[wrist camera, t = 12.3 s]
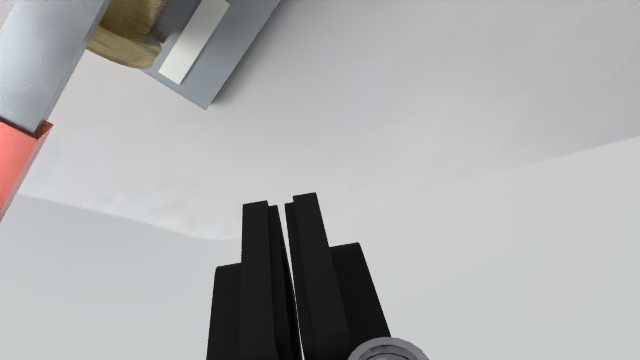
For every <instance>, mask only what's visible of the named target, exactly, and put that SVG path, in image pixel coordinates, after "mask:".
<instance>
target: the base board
mask: <svg viewBox="0 0 640 360" xmlns="http://www.w3.org/2000/svg"><path fill="white" fill-rule="evenodd" d="M279 1H280V0H192V1H191V2H190V4H189V6H188V7H187V9H186V11H185V12H184V14H183V16H182V17H181V19H180V21H179V22H178V24H177V25H176V27H175V29H174V30H173V32H172V34H171V35H170V36H169V38H168V39H167V40H166V42H165V43H164V44H163V43H161V42H160V41H159V42H160V44H161V46H162V51H161V53H160V54H159V56H158V57H157V59H156V61H155V62H154V64H153V66H152V67H151V68H148V69H139V70H141V71H143V72H144V73H146V74H148V75H149V76H151V77H152V78H154V79H156V80H157V81H159V82H160V83H162V84H164V85H165V86H167V87H169V88H170V89H172V90H173V91H175V92H177V93H178V94H180V95H181V96H183V97H185V98H186V99H188V100H190V101H191V102H193V103H194V104H196V105H198V106H199V107H201V108H203V109H204V110H206V109H207V108H208V106H209V105H210V103H211V102H212V100H213V99H214V97H215V96H216V95H217V93H218V92H219V90H220V89H221V87H222V86H223V84H224V83H225V81H226V80H227V78H228V77H229V75H230V74H231V72H232V71H233V69H234V68H235V66H236V65H237V63H238V62H239V61H240V59H241V58H242V56H243V55H244V53H245V52H246V50H247V49H248V47H249V46H250V44H251V43H252V41H253V40H254V38H255V37H256V35H257V34H258V32H259V31H260V29H261V28H262V26H263V25H264V24H265V22H266V21H267V19H268V18H269V16H270V15H271V13H272V12H273V10H274V9H275V7H276V6H277V4H278V3H279Z"/></svg>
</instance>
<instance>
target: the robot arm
mask: <svg viewBox="0 0 640 360" xmlns="http://www.w3.org/2000/svg"><path fill="white" fill-rule="evenodd" d="M285 213H286V221H287V230H288V238H289V246H290V254H291V262H292V271H293V280H294V288H295V295H294V290H293V284H292V278H291V273H290V268H289V263H288V258H287V253H286V247H285V243H284V237H283V232H282V227H281V222H280V216H279V211H278V207H277V205H274V206H268V202H267V200H266V201H260V202H254V203H248V204H243V216H242V255H241V256H242V257H241V263H236V264H230V265H224V266H219V267H217V268H216V272H215V278H214V289H213V298H212V308H211V318H210V328H209V338H208V348H207V358H206V360H302V351H301V343H302V348H303V353H304V359H305V360H429V359H428V358H427V356H426V355H425V354H424V353H423V352H422V350H421V349H419V348H418V347H416V346H415V345H413V344H412V343H410V342H408V341H405V340H402V339H399V338H392V337H391V335H390V332H389V329H388V326H387V323H386V320H385V317H384V314H383V311H382V308H381V305H380V302H379V299H378V296H377V293H376V290H375V287H374V284H373V282H372V278H371V275H370V272H369V269H368V266H367V264H366V261H365V258H364V255H363V252H362V249H361V246H360V244H359V243H358V242H356V243H351V244H345V245H339V246H333V247H329V245H328V241H327V237H326V232H325V228H324V224H323V220H322V216H321V212H320V207H319V203H318V199H317V195H316V192H314V193H308V194H302V195H296V196H293V202H292V203H286V204H285ZM295 297H296V301H295ZM296 305H297V309H296ZM297 313H298V318H297ZM298 322H299V327H298ZM299 328H300V335H299ZM300 336H301V343H300Z"/></svg>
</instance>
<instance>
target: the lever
mask: <svg viewBox="0 0 640 360" xmlns="http://www.w3.org/2000/svg"><path fill="white" fill-rule="evenodd" d="M111 1H112V0H15V1H14V4H13V6H12V8H11V10H10V12H9V14H8V17H7V19H6V21H5V23H4V25H3V27H2V30H1V32H0V222H1V220H2V218H3V216H4V215H5V213H6V211H7V209H8V207H9V206H10V204H11V202H12V200H13V198H14V196H15V195H16V193H17V191H18V189H19V187H20V185H21V184H22V182H23V180H24V178H25V176H26V174H27V173H28V171H29V169H30V167H31V165H32V163H33V162H34V160H35V158H36V156H37V154H38V152H39V151H40V149H41V147H42V145H43V143H44V141H45V140H46V138H47V136H48V134H49V132H50V130H51V129H52V127H53V124H51V123H49V122H47V120H48V118H49V116H50V114H51V112H52V110H53V108H54V107H55V105H56V103H57V101H58V99H59V97H60V95H61V94H62V92H63V90H64V88H65V86H66V84H67V82H68V81H69V79H70V77H71V75H72V73H73V71H74V69H75V68H76V66H77V64H78V62H79V60H80V58H81V56H82V55H83V53H84V51H85V49H86V47H87V45H88V43H89V42H90V40H91V38H92V36H93V34H94V32H95V30H96V28H97V27H98V25H99V23H100V21H101V19H102V17H103V15H104V14H105V12H106V10H107V8H108V6H109V4H110V2H111Z"/></svg>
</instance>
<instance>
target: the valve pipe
mask: <svg viewBox="0 0 640 360" xmlns="http://www.w3.org/2000/svg"><path fill="white" fill-rule="evenodd" d="M191 1H192V0H112V1H111V2H110V4H109V6H108V8H107V10H106V12H105V14H104V15H103V17H102V19H101V21H100V23H99V25H98V27H97V28H96V30H95V32H94V34H93V36H92V38H91V40H90V42H89V43H88V45H87V47H86V49H88V50H89V51H91V52H93V53H95V54H97V55H99V56H102V57H104V58H106V59H108V60H111V61H113V62H116V63H118V64H121V65H125V66H128V67H132V68H137V69H148V68H151V67H152V66H153V64H154V62H155V61H156V59H157V57H158V56H159V54H160V53H161V51H162V46H161V44H160V42H161V43H163V44H164V43H165V42H166V40H167V39H168V38H169V36H170V35H171V34H172V32H173V30H174V29H175V27H176V25H177V24H178V22H179V21H180V19H181V17H182V16H183V14H184V12H185V11H186V9H187V7H188V6H189V4H190V2H191ZM159 41H160V42H159Z"/></svg>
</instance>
